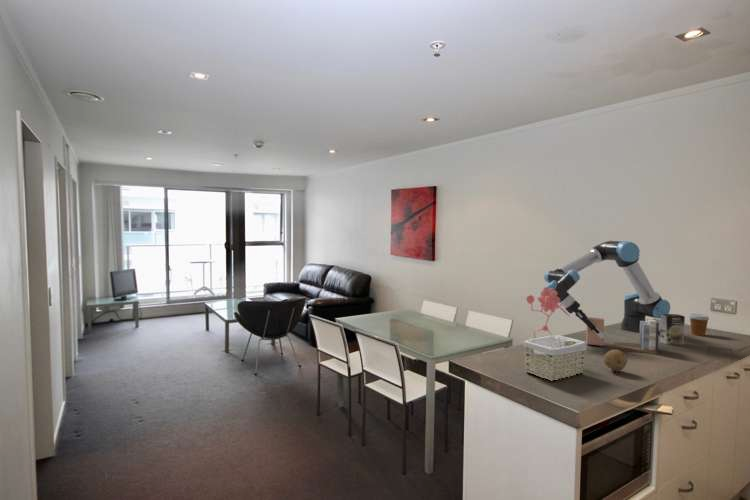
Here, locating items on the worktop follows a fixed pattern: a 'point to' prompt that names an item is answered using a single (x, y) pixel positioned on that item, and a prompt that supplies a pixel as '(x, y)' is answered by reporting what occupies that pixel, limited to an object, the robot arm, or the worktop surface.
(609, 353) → the natural sponge
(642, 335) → the book rack
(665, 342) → the coffee box
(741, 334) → the worktop surface
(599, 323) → the terracotta book
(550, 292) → the figurine
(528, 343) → the storage basket
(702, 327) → the disposable coffee cup
